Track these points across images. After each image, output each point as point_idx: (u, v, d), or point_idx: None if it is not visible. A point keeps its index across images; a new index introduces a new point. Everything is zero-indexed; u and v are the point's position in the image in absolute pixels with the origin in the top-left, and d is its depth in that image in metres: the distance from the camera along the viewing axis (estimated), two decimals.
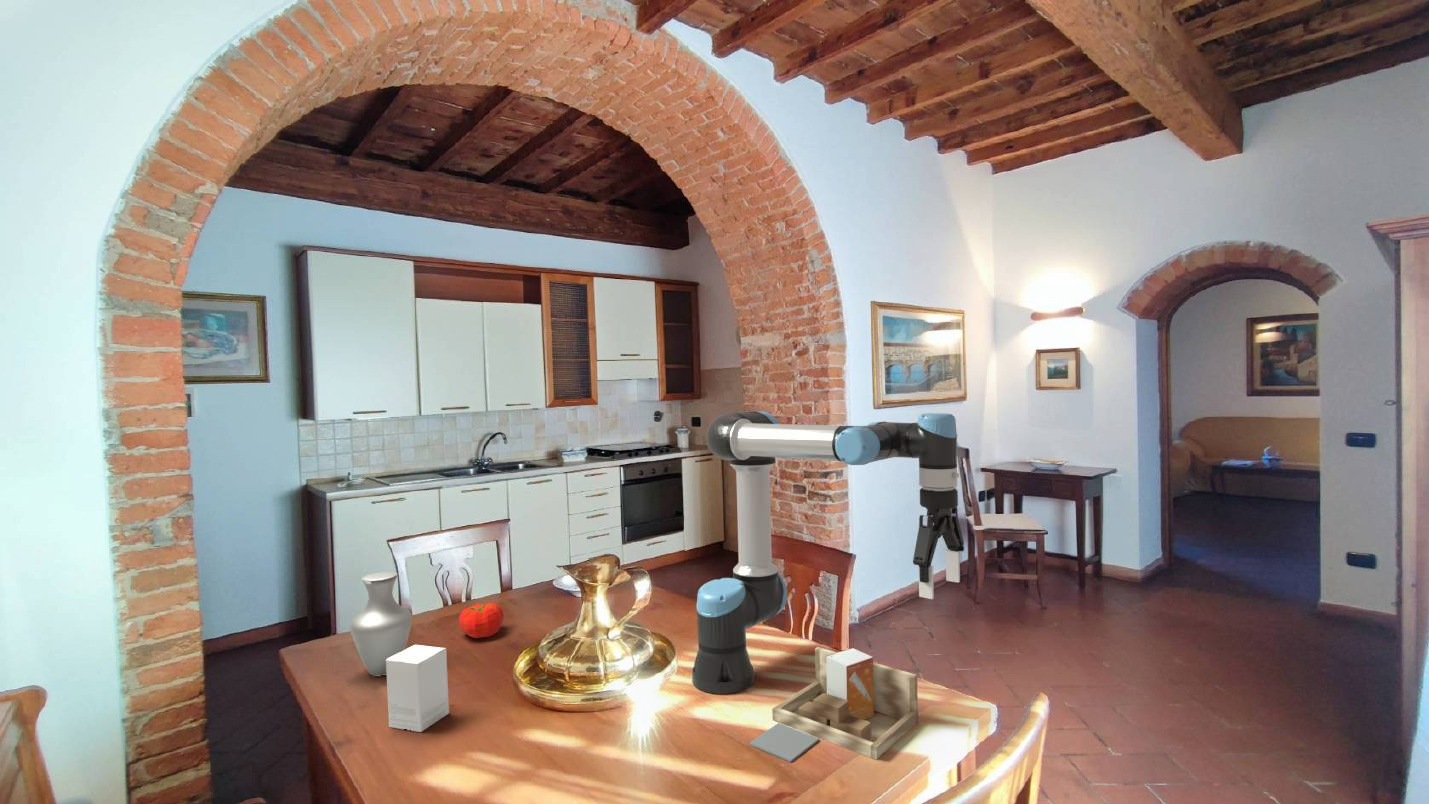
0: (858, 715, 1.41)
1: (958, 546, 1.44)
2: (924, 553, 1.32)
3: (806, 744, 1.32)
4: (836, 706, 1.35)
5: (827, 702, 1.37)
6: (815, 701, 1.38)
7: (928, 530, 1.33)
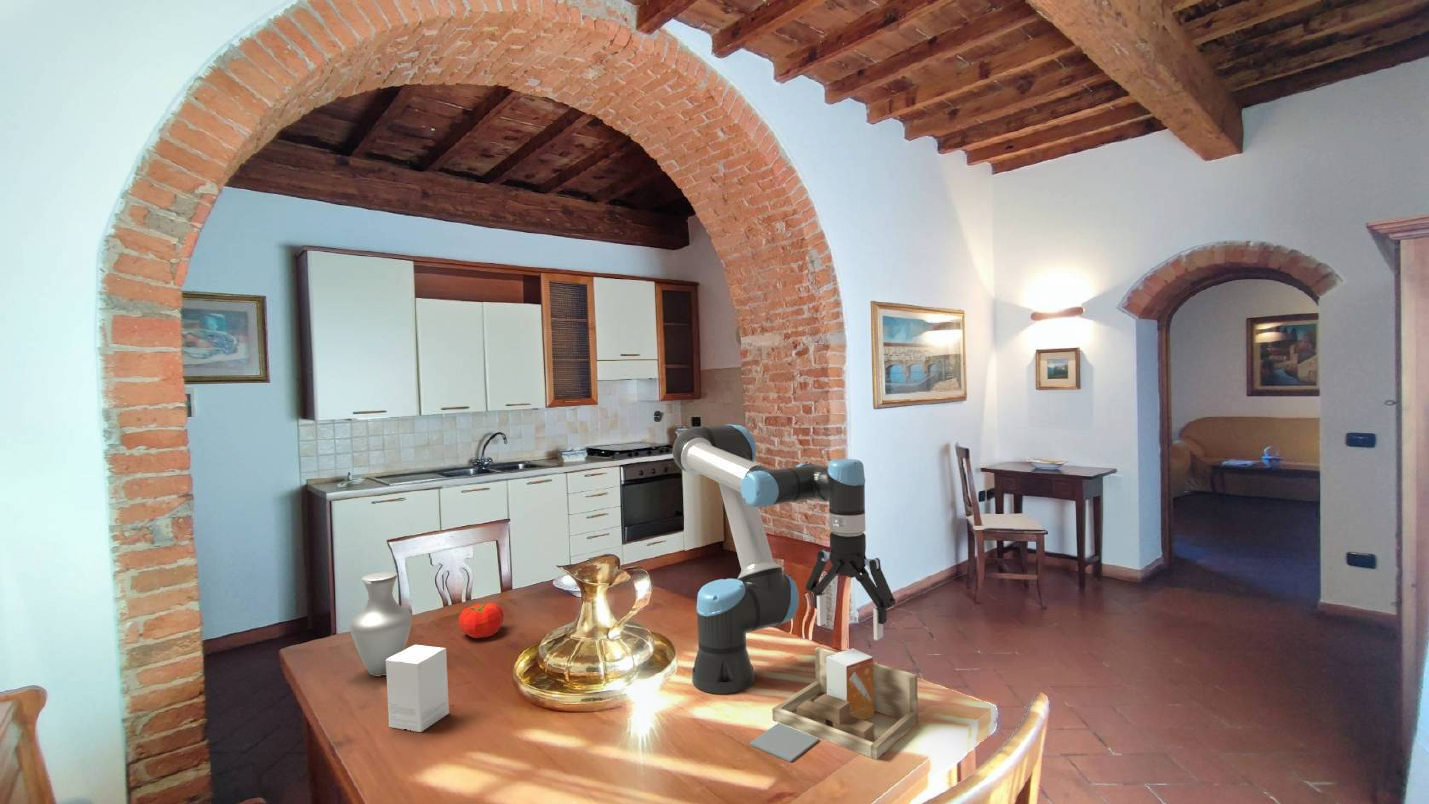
0: (858, 715, 1.41)
1: (876, 603, 1.37)
2: None
3: (806, 744, 1.32)
4: (837, 707, 1.35)
5: (828, 703, 1.37)
6: (816, 702, 1.38)
7: None
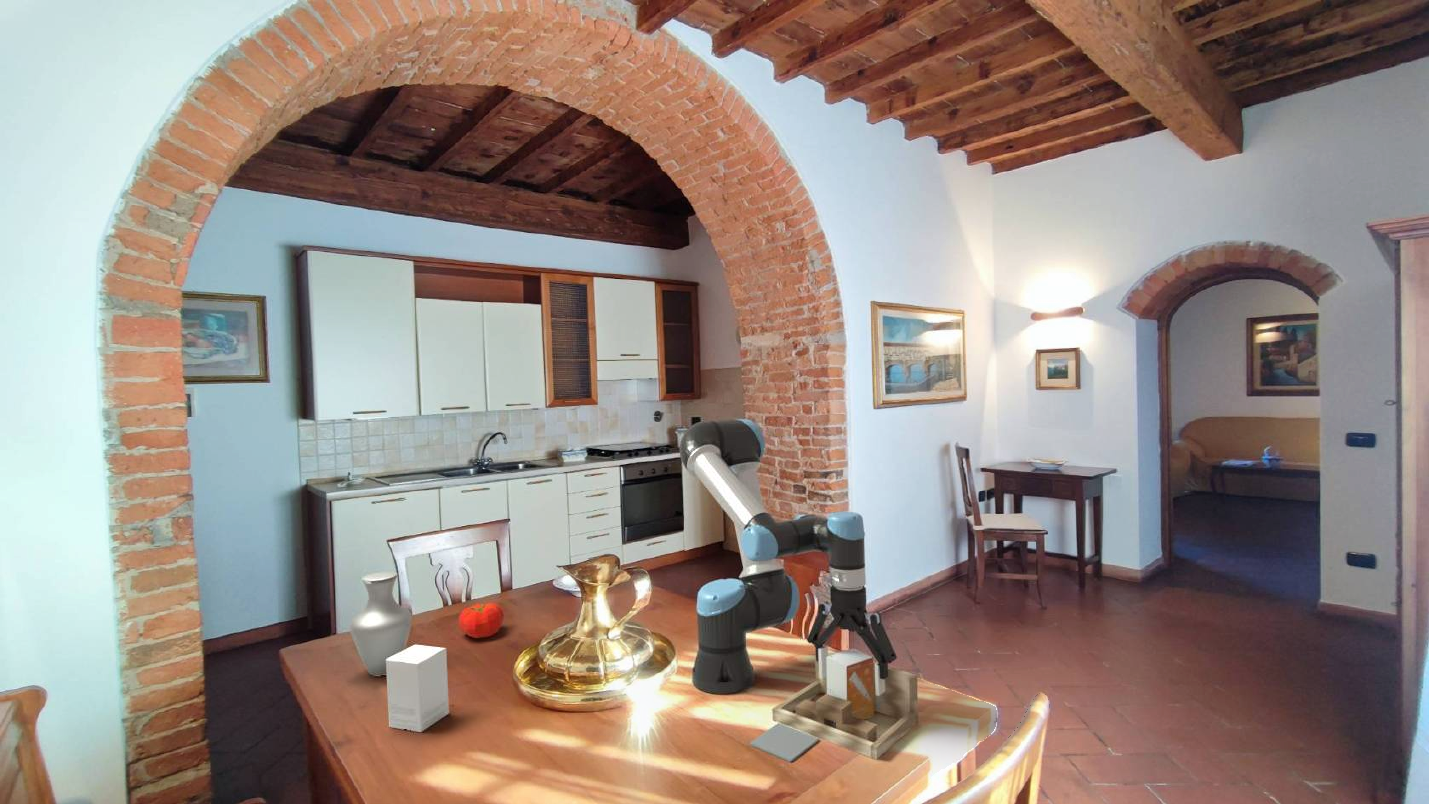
0: (858, 715, 1.41)
1: (877, 658, 1.37)
2: None
3: (806, 744, 1.32)
4: (840, 707, 1.35)
5: (830, 703, 1.37)
6: (818, 702, 1.38)
7: None
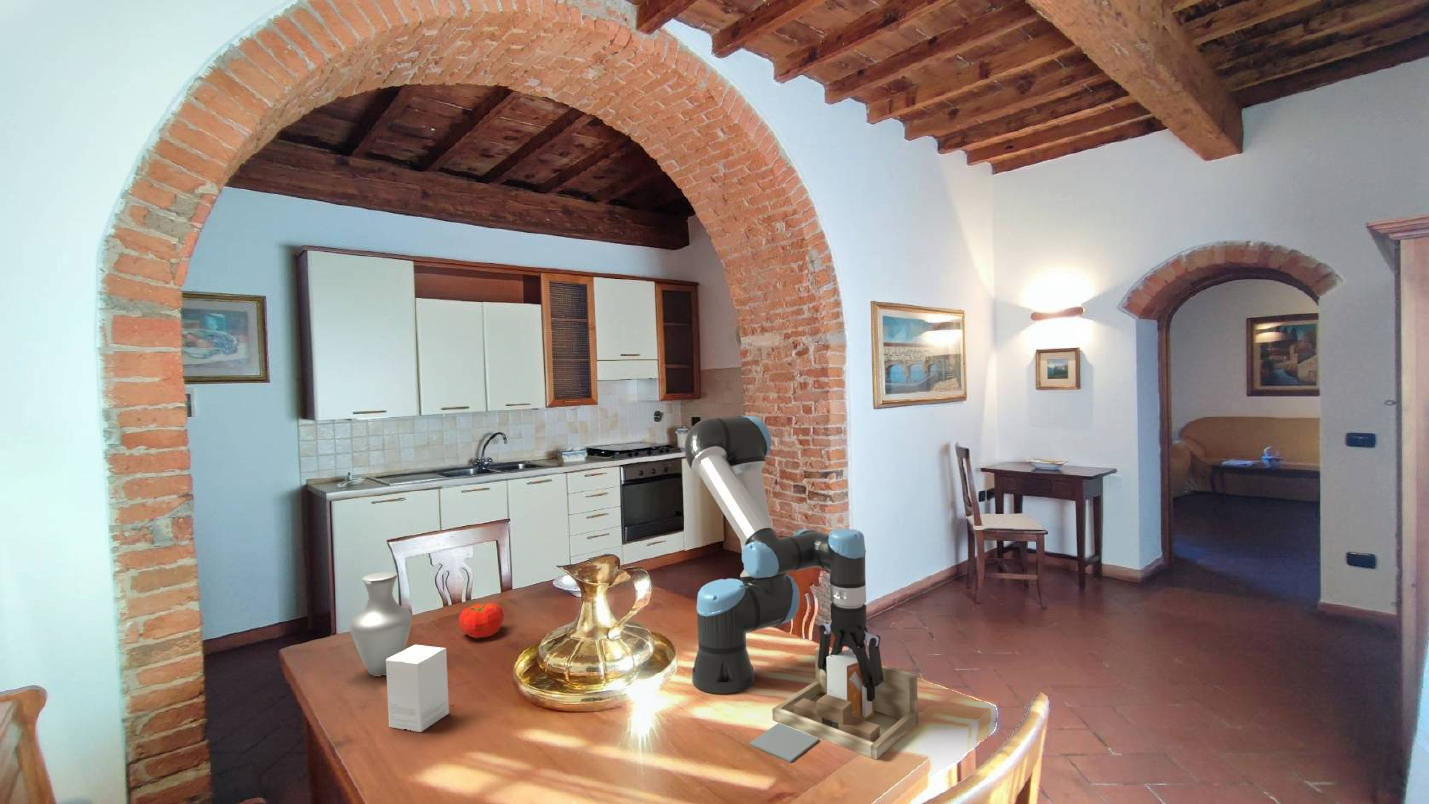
0: (859, 715, 1.41)
1: (865, 680, 1.40)
2: None
3: (806, 744, 1.32)
4: (840, 708, 1.35)
5: (830, 704, 1.36)
6: (818, 703, 1.37)
7: None
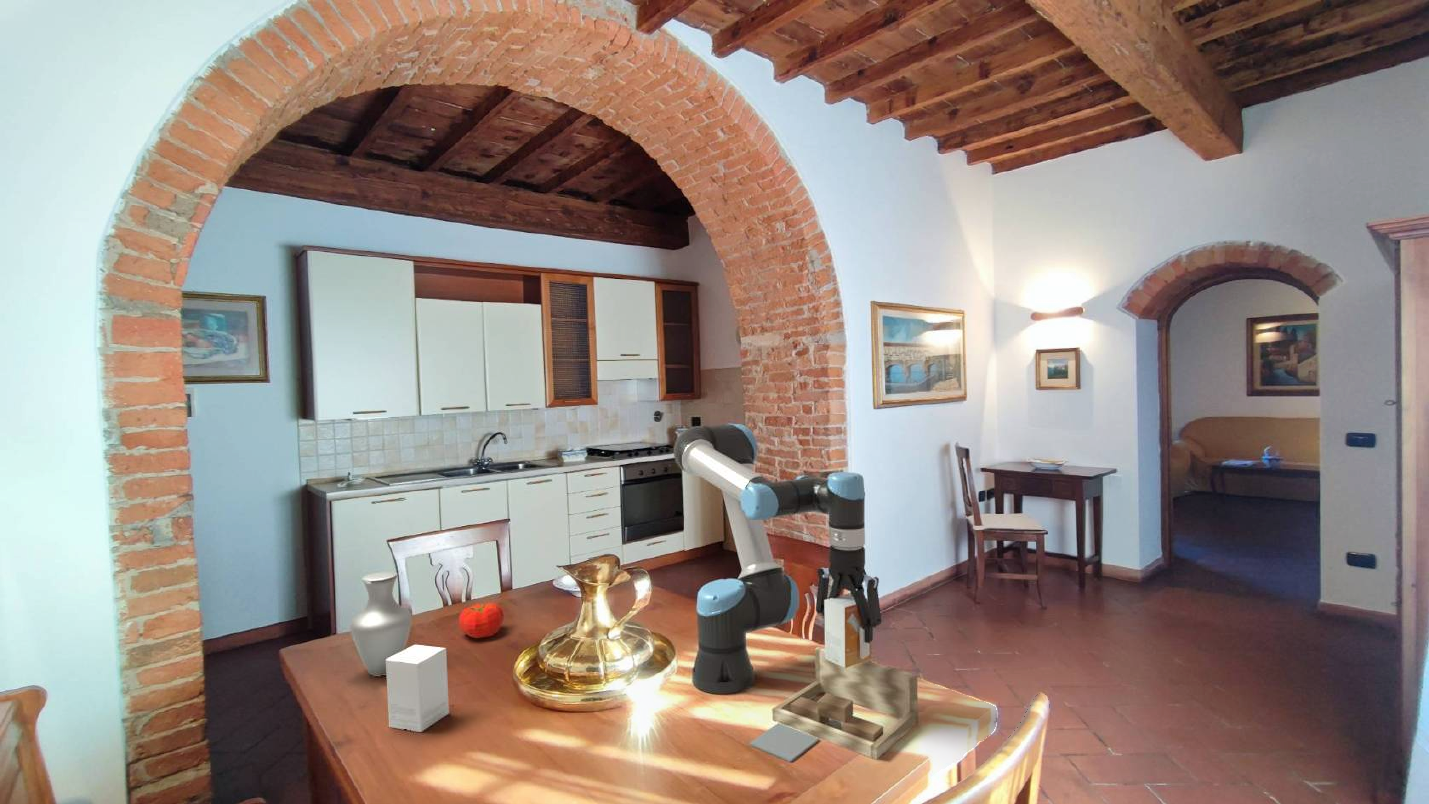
0: (856, 657, 1.41)
1: (863, 621, 1.39)
2: None
3: (806, 744, 1.32)
4: (842, 706, 1.35)
5: (832, 703, 1.37)
6: (820, 702, 1.38)
7: None
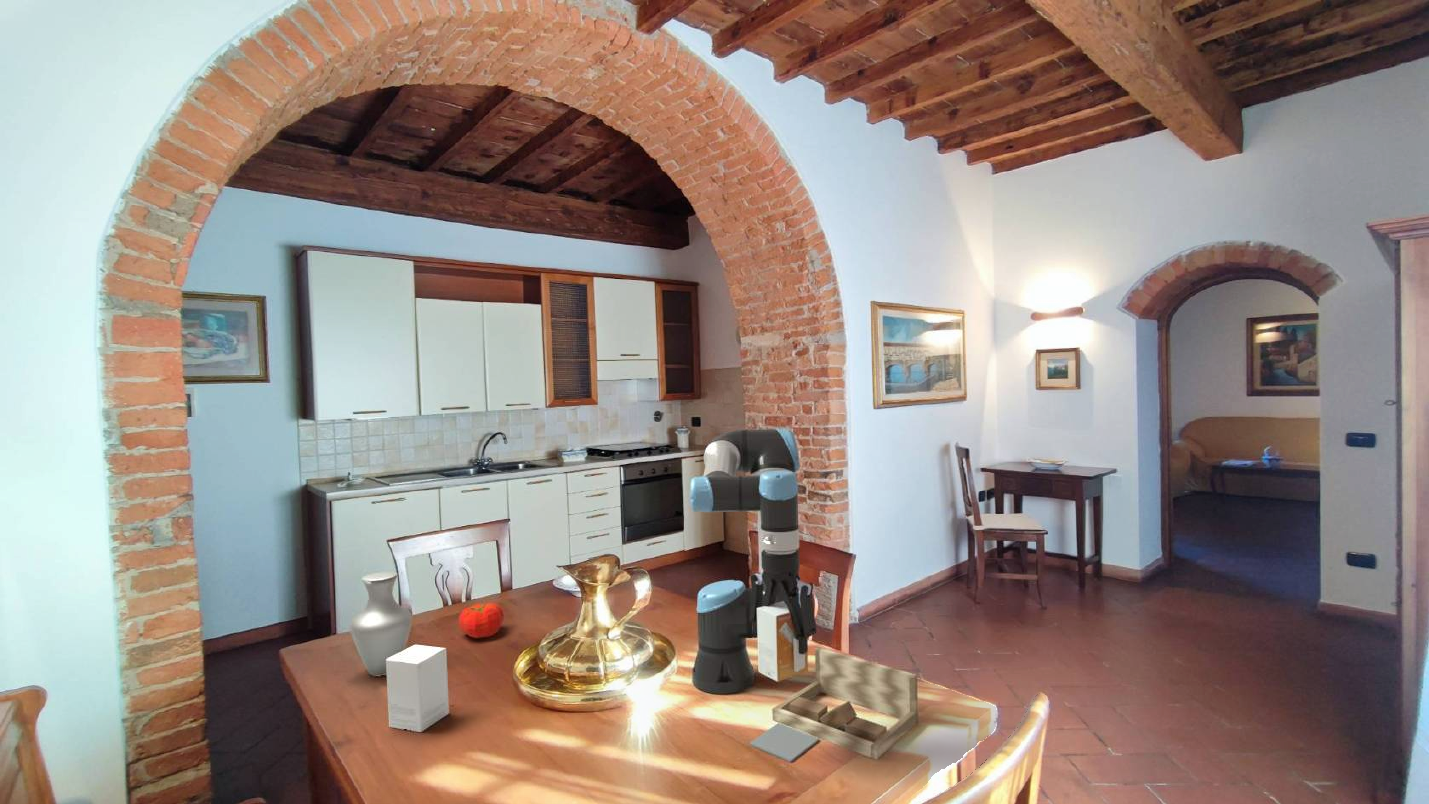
0: (790, 669, 1.31)
1: (797, 631, 1.29)
2: None
3: (806, 744, 1.32)
4: (838, 708, 1.36)
5: (830, 712, 1.37)
6: (821, 718, 1.38)
7: None
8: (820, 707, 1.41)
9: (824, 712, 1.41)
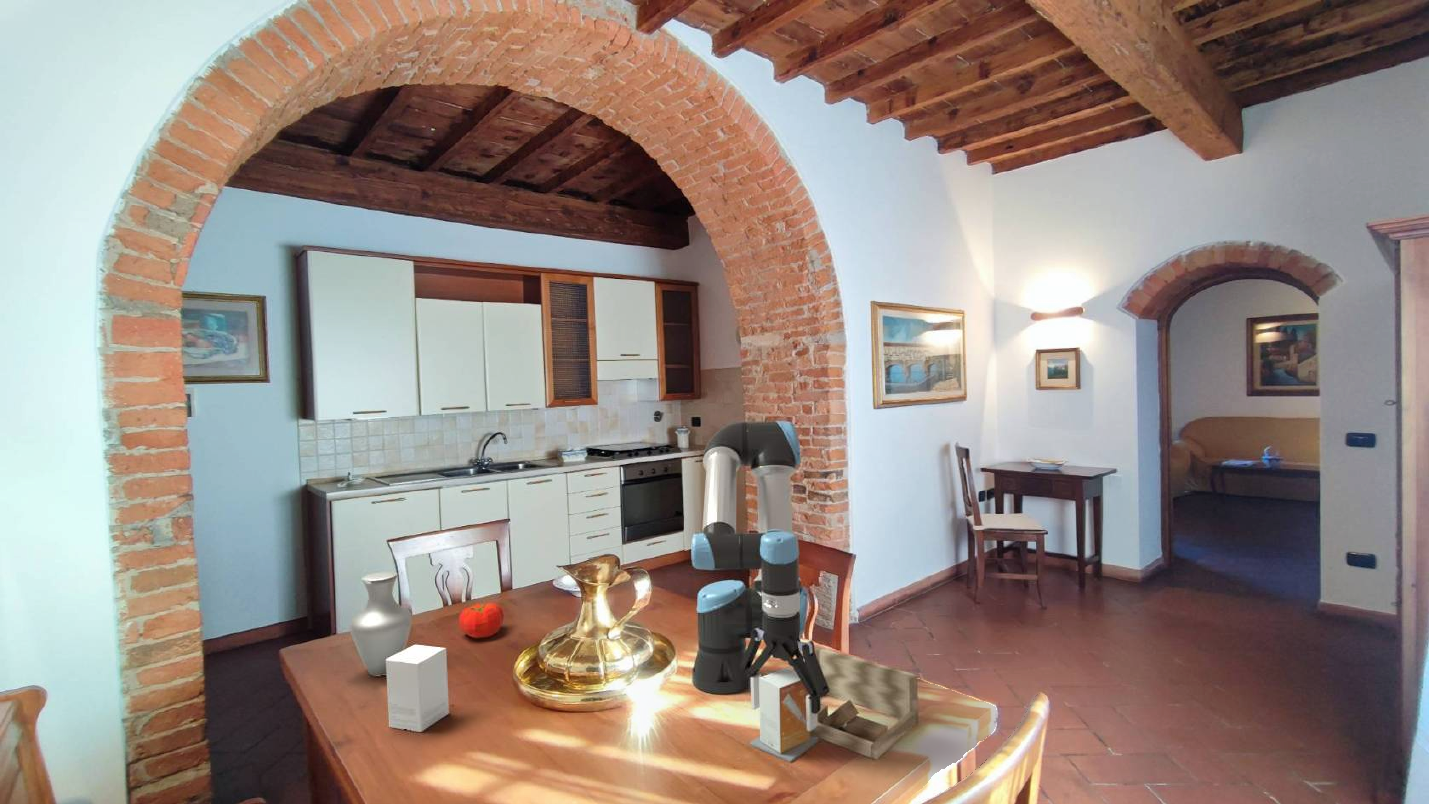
0: (793, 740, 1.31)
1: (809, 691, 1.28)
2: None
3: (806, 744, 1.32)
4: None
5: None
6: (824, 720, 1.37)
7: None
8: None
9: (824, 712, 1.41)
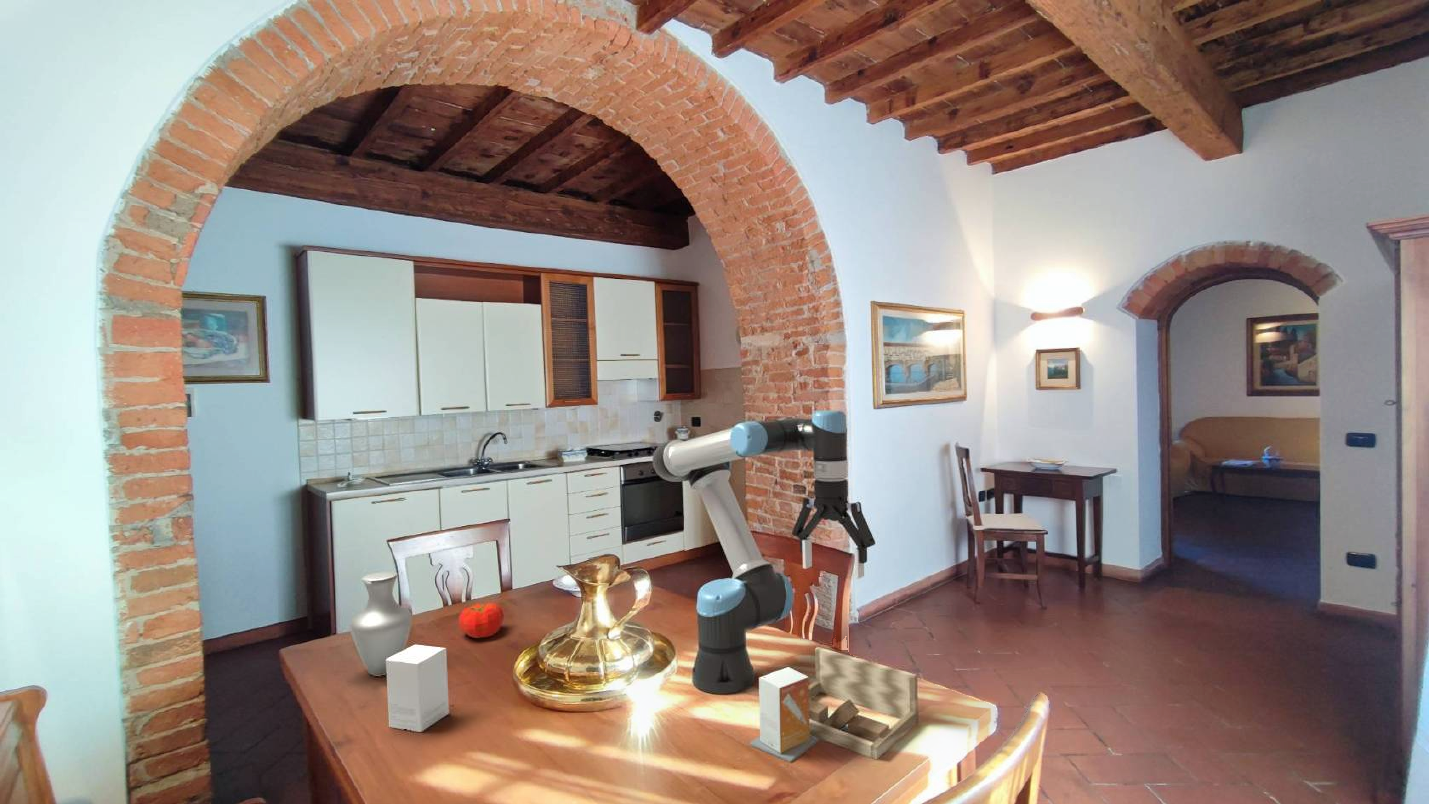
0: (793, 740, 1.31)
1: (857, 543, 1.46)
2: None
3: (806, 744, 1.32)
4: (838, 707, 1.35)
5: (833, 713, 1.37)
6: (825, 722, 1.37)
7: None
8: (820, 707, 1.41)
9: (824, 712, 1.41)
